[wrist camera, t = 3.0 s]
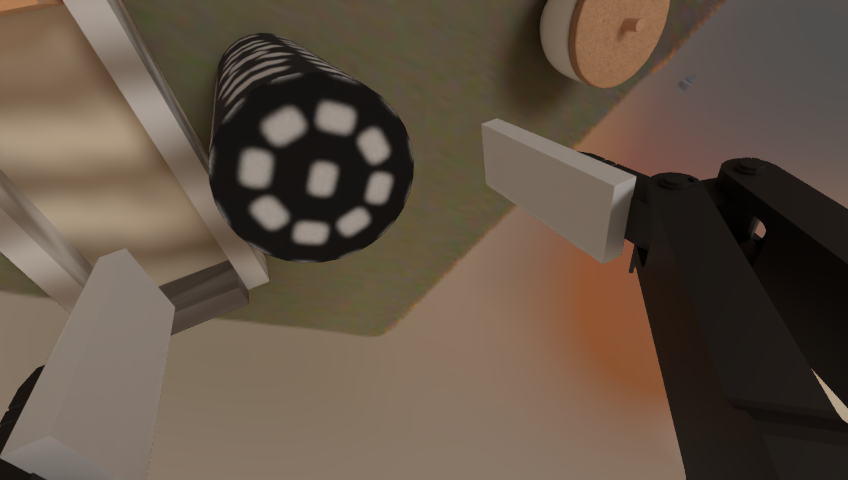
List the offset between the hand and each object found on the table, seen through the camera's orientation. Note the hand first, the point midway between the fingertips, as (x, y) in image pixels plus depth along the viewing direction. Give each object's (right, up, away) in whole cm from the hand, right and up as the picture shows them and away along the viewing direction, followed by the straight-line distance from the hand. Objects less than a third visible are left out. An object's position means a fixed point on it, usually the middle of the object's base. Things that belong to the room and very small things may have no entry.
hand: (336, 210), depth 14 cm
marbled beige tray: (-21, +4, +15) cm, 26 cm away
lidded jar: (+18, +22, +25) cm, 38 cm away
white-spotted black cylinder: (-9, +11, +17) cm, 23 cm away
